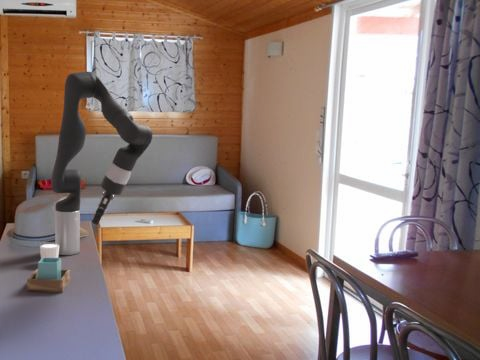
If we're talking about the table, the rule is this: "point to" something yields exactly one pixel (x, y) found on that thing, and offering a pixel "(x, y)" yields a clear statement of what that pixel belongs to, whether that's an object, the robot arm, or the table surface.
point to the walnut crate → (48, 283)
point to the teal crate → (49, 268)
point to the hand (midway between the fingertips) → (96, 219)
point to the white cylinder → (49, 250)
